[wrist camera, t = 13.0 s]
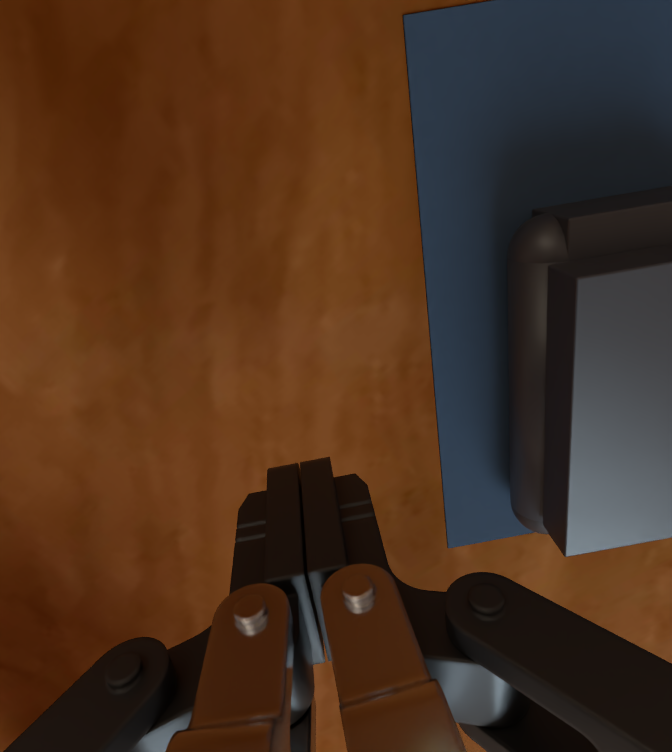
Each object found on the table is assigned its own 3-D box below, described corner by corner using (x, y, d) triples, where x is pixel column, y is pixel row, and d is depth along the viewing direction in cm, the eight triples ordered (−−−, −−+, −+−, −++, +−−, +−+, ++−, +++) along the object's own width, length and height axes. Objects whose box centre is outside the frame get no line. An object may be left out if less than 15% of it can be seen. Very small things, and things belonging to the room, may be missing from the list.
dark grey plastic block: (495, 215, 14) (555, 234, 11) (712, 178, 14) (833, 187, 11) (501, 511, 18) (546, 587, 15) (669, 481, 18) (748, 550, 15)
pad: (401, 16, 12) (403, 15, 12) (898, -66, 12) (908, -69, 12) (446, 544, 19) (448, 548, 18) (770, 484, 19) (775, 487, 19)
